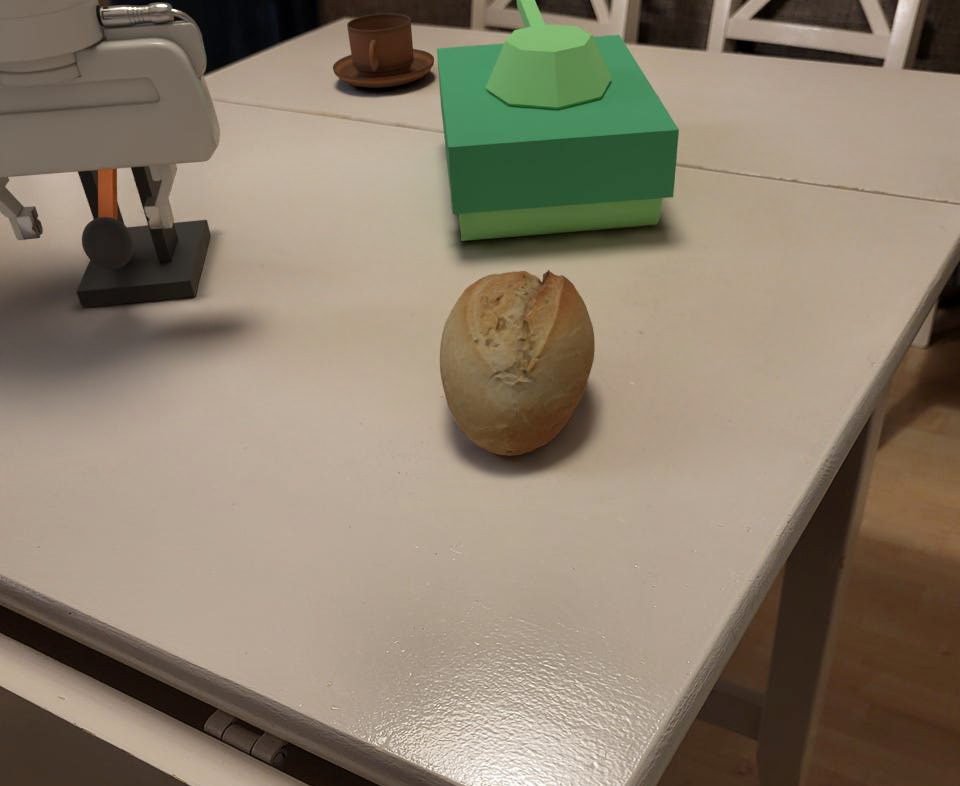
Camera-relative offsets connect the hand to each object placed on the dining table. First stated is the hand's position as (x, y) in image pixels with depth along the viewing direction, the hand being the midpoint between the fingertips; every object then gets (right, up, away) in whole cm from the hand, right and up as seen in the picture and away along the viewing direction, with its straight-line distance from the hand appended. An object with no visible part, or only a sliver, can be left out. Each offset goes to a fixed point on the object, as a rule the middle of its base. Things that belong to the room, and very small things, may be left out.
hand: (97, 231), depth 70 cm
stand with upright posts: (0, +1, +11) cm, 11 cm away
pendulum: (0, +4, +4) cm, 5 cm away
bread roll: (+30, -14, -6) cm, 34 cm away
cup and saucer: (+16, +36, +46) cm, 60 cm away
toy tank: (+33, +14, +22) cm, 43 cm away
